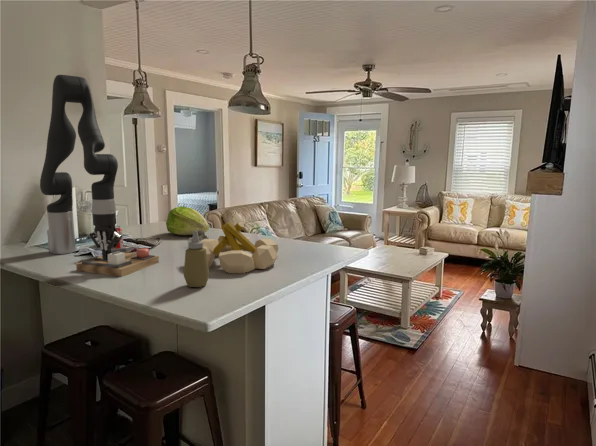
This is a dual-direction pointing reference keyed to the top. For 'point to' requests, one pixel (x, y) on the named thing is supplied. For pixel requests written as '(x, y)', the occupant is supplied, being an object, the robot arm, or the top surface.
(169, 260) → the top surface
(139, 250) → the button
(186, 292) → the top surface
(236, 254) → the campfire
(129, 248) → the rocker
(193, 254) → the squeeze bottle
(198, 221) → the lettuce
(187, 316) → the top surface
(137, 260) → the panel
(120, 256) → the slider
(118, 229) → the soda can
